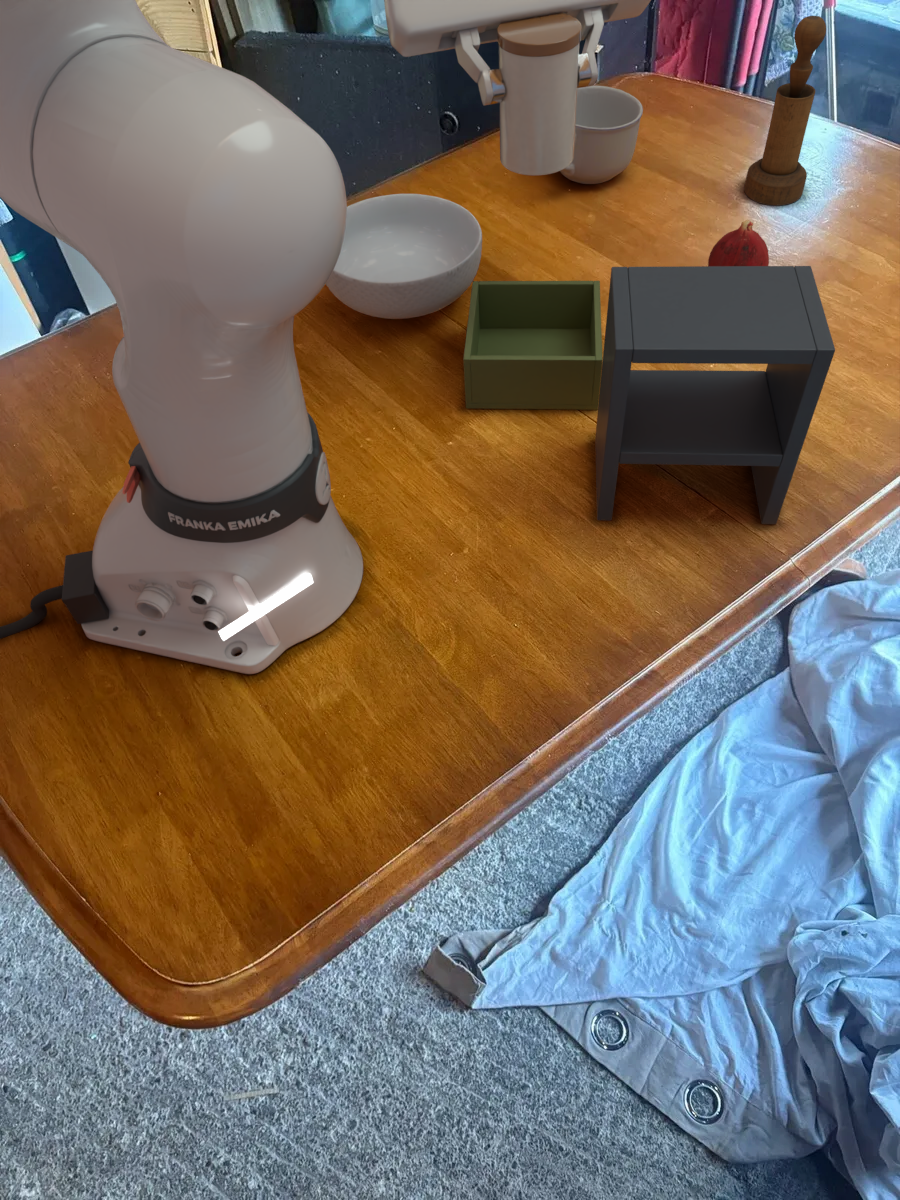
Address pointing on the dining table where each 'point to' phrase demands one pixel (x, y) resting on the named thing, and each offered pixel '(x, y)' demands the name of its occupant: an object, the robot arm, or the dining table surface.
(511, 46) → the jar
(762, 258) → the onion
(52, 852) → the dining table surface
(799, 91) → the mortar and pestle
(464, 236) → the cereal bowl
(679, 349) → the shelf
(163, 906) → the dining table surface
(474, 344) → the bin
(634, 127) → the teacup
